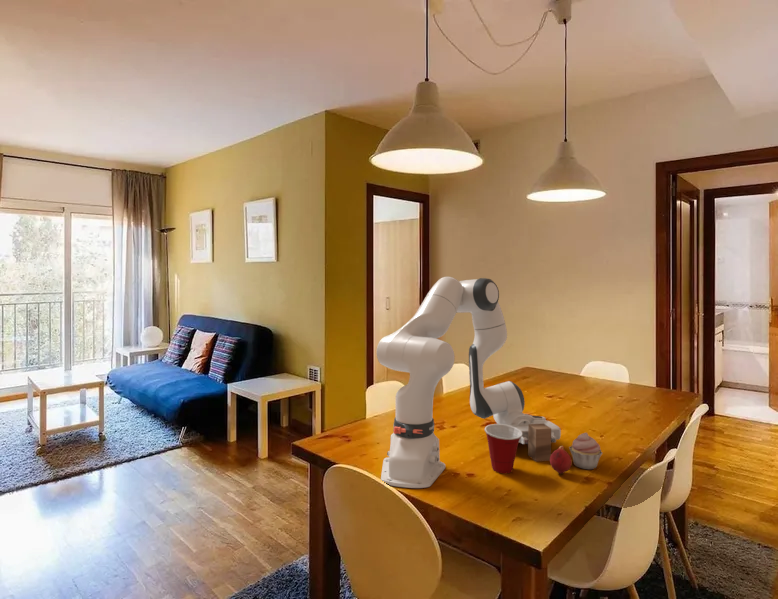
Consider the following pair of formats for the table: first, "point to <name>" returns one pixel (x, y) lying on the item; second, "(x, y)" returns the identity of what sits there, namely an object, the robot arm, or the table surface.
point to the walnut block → (539, 442)
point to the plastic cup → (502, 446)
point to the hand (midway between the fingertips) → (539, 440)
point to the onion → (560, 460)
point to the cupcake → (585, 452)
